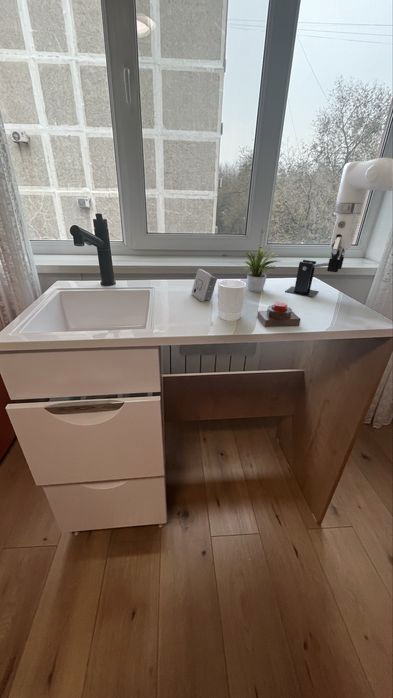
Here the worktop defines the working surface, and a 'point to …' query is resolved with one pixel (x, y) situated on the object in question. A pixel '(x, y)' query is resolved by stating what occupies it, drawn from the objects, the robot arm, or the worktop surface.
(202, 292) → the electrical switch
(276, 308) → the button
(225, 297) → the white cup
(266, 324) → the button block
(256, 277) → the house plant
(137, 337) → the worktop surface
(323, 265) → the grey lever
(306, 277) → the black upright stand
